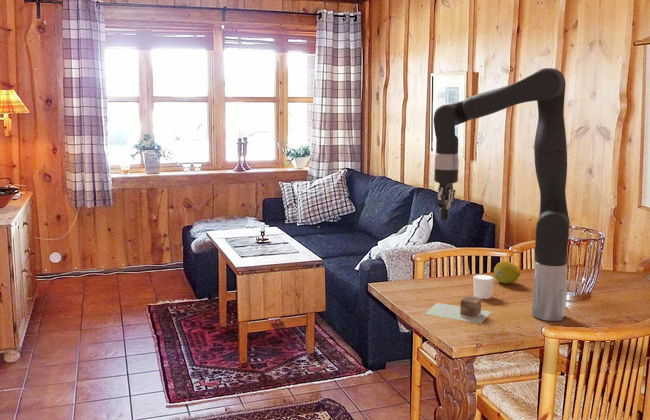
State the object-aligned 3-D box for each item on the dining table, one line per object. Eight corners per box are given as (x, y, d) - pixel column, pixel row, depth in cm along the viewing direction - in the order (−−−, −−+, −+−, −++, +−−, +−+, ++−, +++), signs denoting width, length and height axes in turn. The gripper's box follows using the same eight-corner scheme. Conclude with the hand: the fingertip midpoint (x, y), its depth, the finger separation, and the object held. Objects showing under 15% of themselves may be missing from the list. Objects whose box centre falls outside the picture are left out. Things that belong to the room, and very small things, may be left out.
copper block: (465, 295, 212) (465, 311, 213) (460, 300, 207) (460, 315, 208) (481, 298, 209) (480, 313, 210) (476, 303, 205) (476, 318, 206)
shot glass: (493, 300, 224) (494, 280, 222) (472, 299, 225) (473, 279, 224) (492, 294, 230) (493, 274, 229) (472, 293, 232) (472, 273, 230)
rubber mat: (491, 312, 212) (491, 311, 212) (480, 324, 202) (480, 323, 202) (437, 303, 221) (437, 302, 221) (423, 314, 211) (423, 313, 210)
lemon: (488, 280, 246) (489, 259, 245) (507, 278, 249) (508, 257, 247) (505, 288, 236) (506, 266, 235) (524, 286, 238) (525, 264, 237)
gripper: (450, 170, 209) (449, 225, 212) (464, 165, 220) (462, 217, 224) (428, 169, 213) (426, 222, 216) (442, 164, 224) (440, 215, 227)
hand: (444, 220), depth 220 cm, fingers closed
